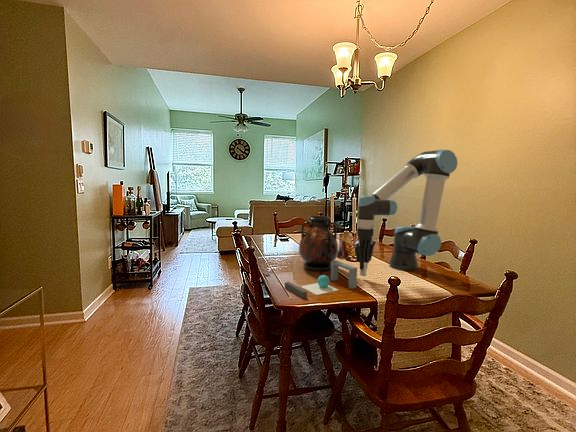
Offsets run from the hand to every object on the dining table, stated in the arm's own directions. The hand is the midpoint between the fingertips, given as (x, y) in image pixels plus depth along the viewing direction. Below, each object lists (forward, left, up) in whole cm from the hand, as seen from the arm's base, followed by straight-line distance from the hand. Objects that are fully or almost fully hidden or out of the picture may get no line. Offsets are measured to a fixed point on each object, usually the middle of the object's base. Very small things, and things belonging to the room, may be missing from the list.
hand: (363, 275), depth 152 cm
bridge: (+13, 0, -2) cm, 13 cm away
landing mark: (+27, 0, -2) cm, 27 cm away
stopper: (+39, -1, -2) cm, 39 cm away
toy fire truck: (-22, -40, -2) cm, 46 cm away
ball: (+24, 0, +1) cm, 24 cm away
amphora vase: (+7, -27, -2) cm, 28 cm away
